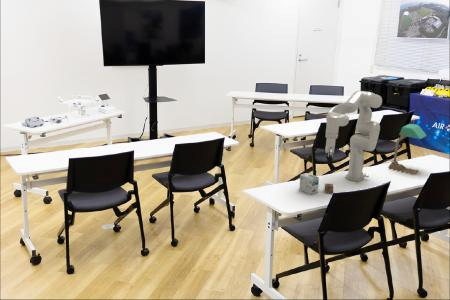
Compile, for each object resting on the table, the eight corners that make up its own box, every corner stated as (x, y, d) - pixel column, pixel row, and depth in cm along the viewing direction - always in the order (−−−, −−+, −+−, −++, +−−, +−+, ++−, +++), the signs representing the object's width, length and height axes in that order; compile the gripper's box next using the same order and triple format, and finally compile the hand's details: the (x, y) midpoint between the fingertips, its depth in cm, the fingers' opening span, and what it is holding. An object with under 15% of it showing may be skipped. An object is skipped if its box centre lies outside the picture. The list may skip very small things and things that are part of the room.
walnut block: (332, 191, 294) (332, 183, 293) (332, 193, 289) (333, 186, 288) (324, 190, 295) (325, 183, 293) (324, 193, 290) (325, 186, 288)
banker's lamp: (393, 165, 351) (400, 121, 341) (421, 171, 338) (428, 126, 328) (386, 170, 339) (392, 124, 329) (414, 176, 326) (421, 129, 316)
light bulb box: (318, 192, 291) (319, 176, 288) (311, 194, 286) (312, 179, 283) (305, 187, 298) (306, 172, 295) (298, 189, 294) (299, 174, 291)
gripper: (325, 131, 290) (322, 156, 295) (326, 137, 274) (323, 164, 279) (337, 132, 289) (334, 157, 294) (338, 138, 273) (335, 165, 277)
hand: (329, 160), depth 286 cm, fingers open, 9 cm apart
